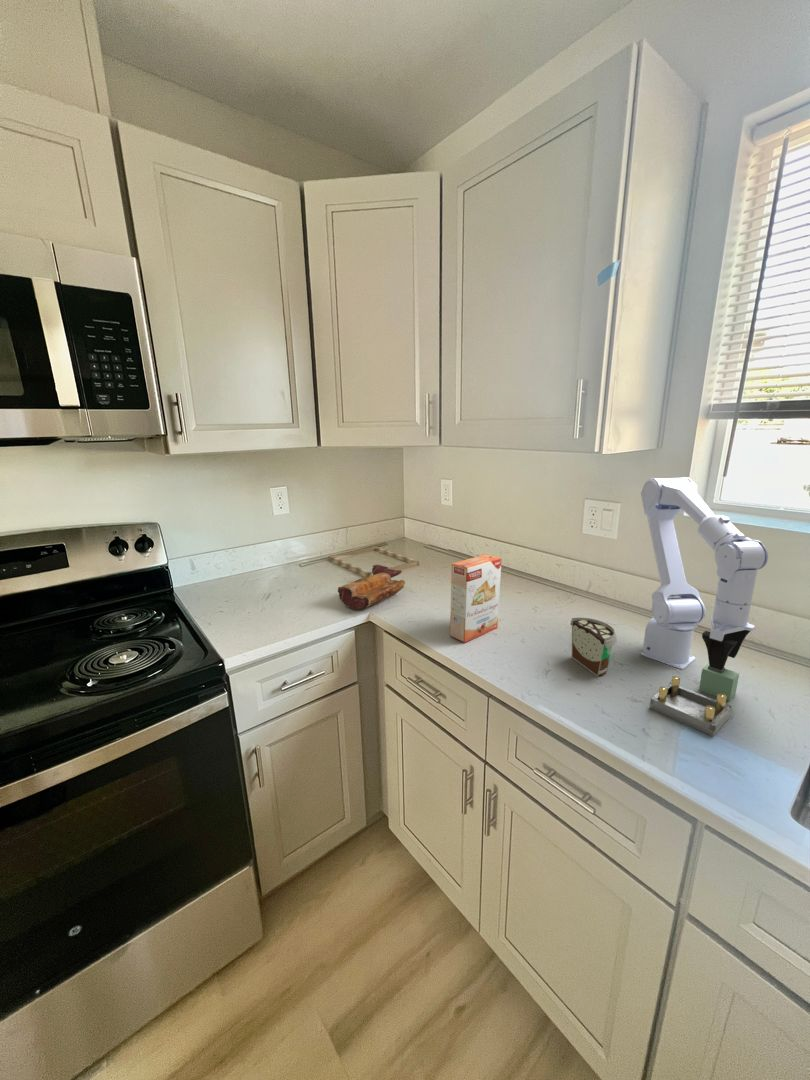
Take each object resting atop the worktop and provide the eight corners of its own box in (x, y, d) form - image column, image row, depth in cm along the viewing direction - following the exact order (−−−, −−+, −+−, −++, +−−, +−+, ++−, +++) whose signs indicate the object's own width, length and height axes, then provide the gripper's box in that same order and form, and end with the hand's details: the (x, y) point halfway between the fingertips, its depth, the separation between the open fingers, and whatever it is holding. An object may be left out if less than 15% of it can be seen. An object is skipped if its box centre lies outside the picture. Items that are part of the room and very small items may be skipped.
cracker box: (465, 644, 115) (467, 567, 110) (449, 636, 120) (449, 562, 114) (499, 628, 124) (502, 557, 119) (483, 622, 128) (485, 552, 123)
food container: (625, 676, 99) (630, 635, 97) (602, 680, 98) (607, 639, 95) (588, 650, 111) (592, 613, 108) (567, 654, 109) (570, 617, 107)
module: (698, 689, 94) (702, 666, 93) (705, 683, 96) (709, 660, 95) (729, 701, 90) (733, 676, 88) (735, 695, 92) (739, 670, 90)
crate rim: (329, 562, 188) (328, 556, 187) (375, 552, 202) (375, 546, 202) (369, 581, 164) (369, 573, 164) (419, 568, 179) (418, 561, 178)
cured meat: (380, 560, 161) (379, 578, 163) (328, 579, 142) (327, 598, 144) (419, 575, 150) (417, 594, 152) (369, 597, 131) (368, 618, 134)
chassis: (649, 708, 88) (652, 687, 87) (668, 691, 93) (671, 672, 92) (713, 736, 79) (717, 714, 78) (730, 716, 85) (734, 695, 84)
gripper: (746, 615, 80) (733, 682, 84) (768, 596, 89) (757, 657, 92) (702, 604, 86) (692, 667, 89) (727, 587, 95) (717, 645, 98)
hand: (722, 661), depth 91 cm, fingers open, 7 cm apart
